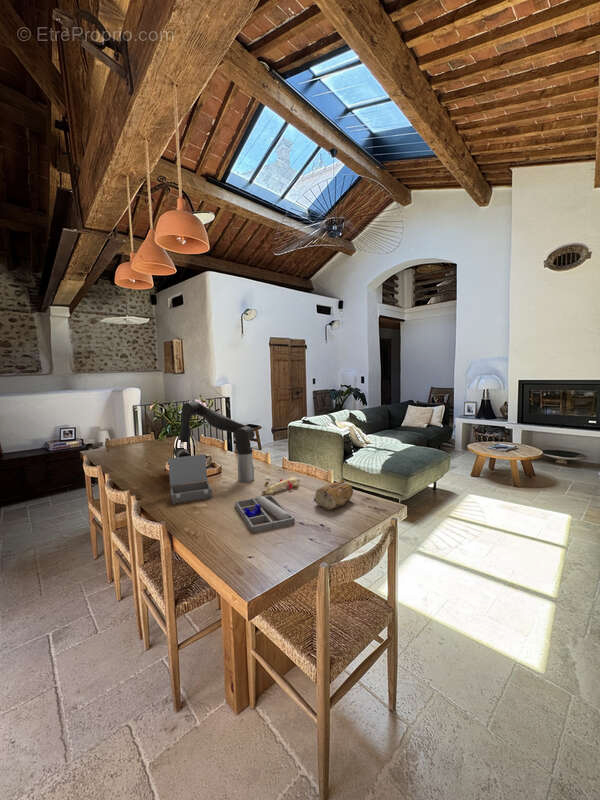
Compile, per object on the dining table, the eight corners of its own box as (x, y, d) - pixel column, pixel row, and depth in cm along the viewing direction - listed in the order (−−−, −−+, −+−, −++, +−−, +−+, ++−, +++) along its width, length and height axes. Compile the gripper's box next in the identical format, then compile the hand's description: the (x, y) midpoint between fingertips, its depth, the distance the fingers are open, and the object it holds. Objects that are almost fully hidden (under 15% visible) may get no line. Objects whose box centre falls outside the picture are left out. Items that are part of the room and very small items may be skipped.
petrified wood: (335, 494, 187) (339, 477, 184) (355, 505, 178) (359, 488, 176) (311, 503, 173) (315, 485, 170) (331, 516, 164) (335, 497, 162)
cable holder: (248, 519, 157) (248, 511, 157) (244, 517, 160) (244, 509, 159) (262, 514, 163) (262, 506, 162) (258, 512, 165) (258, 504, 165)
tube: (293, 513, 155) (266, 496, 176) (283, 512, 152) (257, 495, 173) (290, 525, 155) (264, 506, 175) (280, 524, 152) (255, 505, 172)
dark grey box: (207, 489, 198) (207, 481, 197) (212, 498, 184) (211, 489, 184) (170, 495, 190) (170, 486, 189) (172, 504, 176) (172, 495, 176)
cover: (207, 480, 197) (207, 480, 198) (205, 454, 199) (205, 454, 200) (170, 485, 189) (170, 485, 190) (168, 458, 191) (168, 458, 192)
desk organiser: (271, 499, 181) (271, 495, 181) (294, 523, 153) (294, 518, 153) (235, 506, 173) (235, 501, 173) (252, 532, 145) (252, 527, 145)
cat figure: (271, 500, 184) (304, 485, 201) (269, 485, 183) (303, 470, 199) (260, 495, 191) (292, 481, 208) (258, 480, 190) (291, 467, 207)
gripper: (172, 452, 214) (174, 458, 198) (194, 449, 219) (198, 455, 203) (173, 463, 215) (175, 471, 199) (195, 461, 220) (198, 468, 204)
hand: (186, 463), depth 201 cm, fingers closed
